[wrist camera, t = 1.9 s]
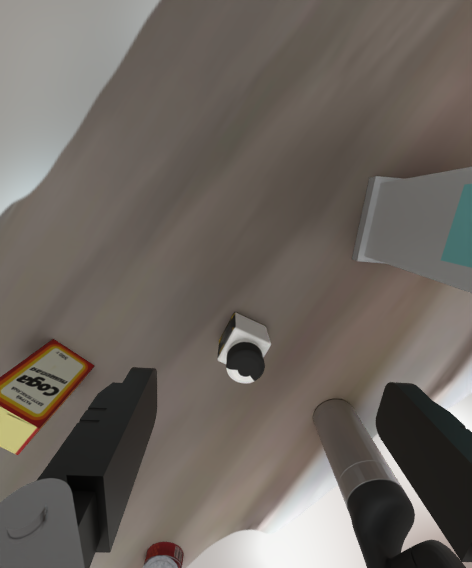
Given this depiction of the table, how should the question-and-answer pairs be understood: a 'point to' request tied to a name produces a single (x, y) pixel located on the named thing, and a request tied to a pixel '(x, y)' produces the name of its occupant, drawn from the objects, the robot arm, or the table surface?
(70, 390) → the baking soda box
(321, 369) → the table surface
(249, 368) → the medicine bottle
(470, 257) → the block
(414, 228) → the pedestal
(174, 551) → the canned food
